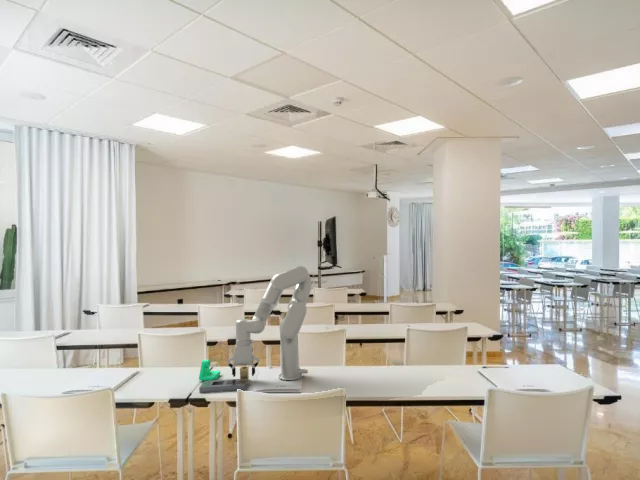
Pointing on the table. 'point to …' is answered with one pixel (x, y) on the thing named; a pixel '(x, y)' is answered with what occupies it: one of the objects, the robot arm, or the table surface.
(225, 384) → the grey compartment tray
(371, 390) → the table surface
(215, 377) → the camera mount
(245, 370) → the nut block
